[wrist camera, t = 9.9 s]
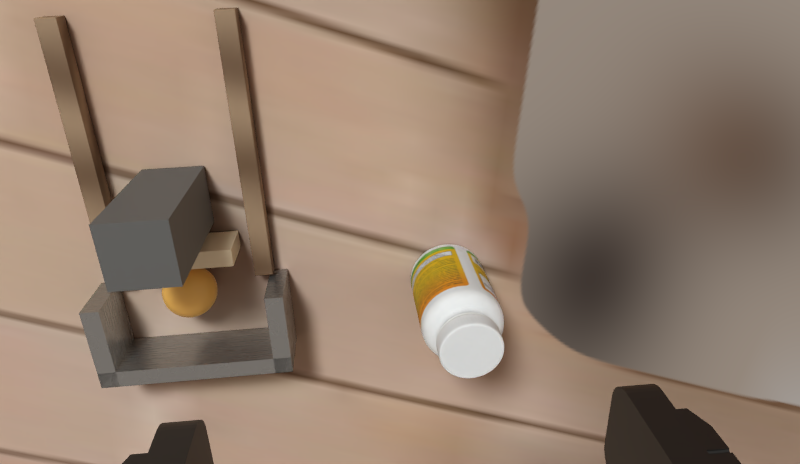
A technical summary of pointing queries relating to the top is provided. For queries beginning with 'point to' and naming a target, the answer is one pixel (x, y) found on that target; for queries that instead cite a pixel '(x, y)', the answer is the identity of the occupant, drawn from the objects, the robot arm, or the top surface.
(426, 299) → the supplement bottle
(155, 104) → the top surface
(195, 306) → the ball
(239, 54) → the lane
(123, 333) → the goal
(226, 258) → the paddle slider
